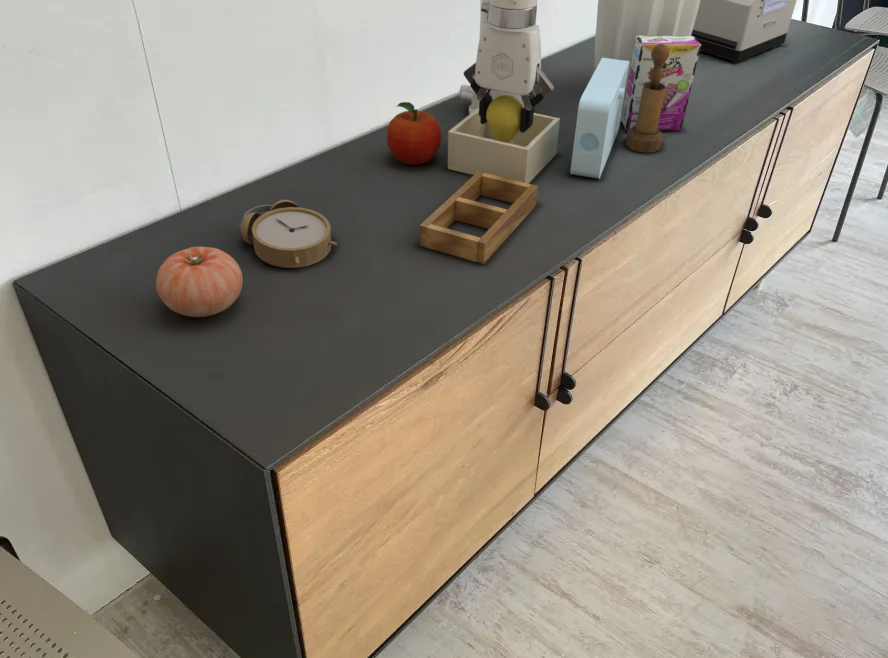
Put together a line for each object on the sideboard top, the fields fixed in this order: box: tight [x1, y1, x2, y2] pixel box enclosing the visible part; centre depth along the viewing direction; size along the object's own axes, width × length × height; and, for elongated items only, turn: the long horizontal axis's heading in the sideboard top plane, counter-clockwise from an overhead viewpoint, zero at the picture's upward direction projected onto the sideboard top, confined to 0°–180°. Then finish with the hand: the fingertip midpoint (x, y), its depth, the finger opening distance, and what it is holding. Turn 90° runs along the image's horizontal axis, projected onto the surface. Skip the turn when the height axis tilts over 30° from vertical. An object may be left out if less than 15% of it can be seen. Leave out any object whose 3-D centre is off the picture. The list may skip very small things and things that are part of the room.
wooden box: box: [447, 108, 561, 184], centre depth 136 cm, size 15×15×7 cm
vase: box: [593, 0, 700, 104], centre depth 154 cm, size 20×20×27 cm
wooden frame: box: [419, 171, 539, 265], centre depth 120 cm, size 11×20×4 cm, turn 153°
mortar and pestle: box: [625, 44, 669, 154], centre depth 139 cm, size 7×6×18 cm
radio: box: [569, 58, 630, 180], centre depth 138 cm, size 23×6×13 cm, turn 162°
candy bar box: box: [620, 36, 701, 132], centre depth 146 cm, size 11×5×16 cm, turn 94°
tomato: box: [155, 246, 244, 318], centre depth 101 cm, size 11×11×8 cm
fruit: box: [386, 101, 442, 166], centre depth 135 cm, size 10×10×10 cm
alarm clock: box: [238, 199, 338, 269], centre depth 115 cm, size 11×5×15 cm
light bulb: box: [486, 95, 524, 144], centre depth 134 cm, size 7×7×10 cm
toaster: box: [691, 0, 797, 64], centre depth 185 cm, size 23×25×17 cm
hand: (505, 124), depth 134 cm, fingers closed on light bulb, 6 cm apart
